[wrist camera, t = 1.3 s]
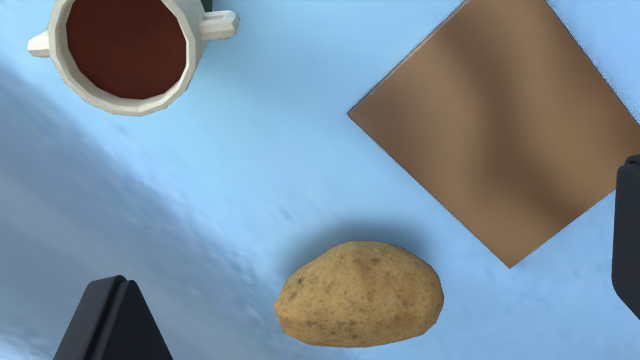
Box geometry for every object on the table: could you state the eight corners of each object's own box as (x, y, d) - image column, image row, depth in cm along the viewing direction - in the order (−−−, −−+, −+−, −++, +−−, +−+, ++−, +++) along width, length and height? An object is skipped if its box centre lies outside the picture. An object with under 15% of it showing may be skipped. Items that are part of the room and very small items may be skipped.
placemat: (510, -43, 38) (513, -43, 37) (656, 151, 46) (661, 154, 46) (346, 113, 42) (347, 116, 42) (507, 265, 51) (509, 269, 50)
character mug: (238, -61, 36) (223, -43, 25) (253, 46, 39) (246, 106, 28) (73, -45, 36) (-20, -19, 24) (103, 61, 39) (32, 128, 28)
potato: (267, 230, 47) (266, 289, 40) (427, 212, 47) (454, 267, 40) (279, 316, 51) (281, 383, 44) (425, 299, 52) (450, 362, 45)
